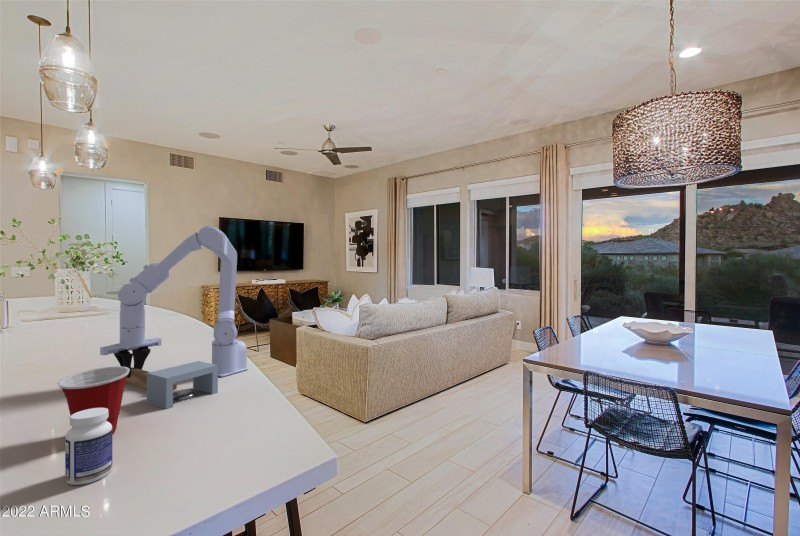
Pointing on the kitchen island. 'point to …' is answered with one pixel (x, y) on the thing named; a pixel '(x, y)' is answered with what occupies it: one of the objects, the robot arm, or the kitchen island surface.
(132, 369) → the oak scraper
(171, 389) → the low shelf
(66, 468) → the pill bottle
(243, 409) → the kitchen island surface
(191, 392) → the steel token
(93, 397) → the plastic cup
